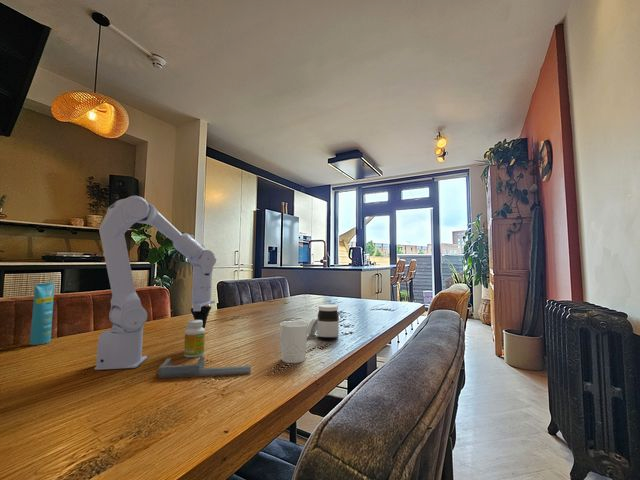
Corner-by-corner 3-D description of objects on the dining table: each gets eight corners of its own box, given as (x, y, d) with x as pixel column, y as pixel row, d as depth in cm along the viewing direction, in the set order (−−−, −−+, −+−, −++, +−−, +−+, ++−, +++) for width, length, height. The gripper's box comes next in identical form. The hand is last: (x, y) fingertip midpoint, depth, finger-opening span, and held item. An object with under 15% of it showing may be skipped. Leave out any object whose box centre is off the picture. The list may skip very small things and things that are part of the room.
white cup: (311, 357, 86) (312, 322, 86) (298, 366, 79) (299, 328, 79) (288, 353, 89) (289, 319, 90) (273, 361, 82) (274, 324, 82)
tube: (41, 346, 92) (45, 283, 93) (22, 346, 91) (27, 283, 92) (56, 339, 99) (60, 281, 100) (39, 340, 98) (44, 281, 99)
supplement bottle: (196, 358, 83) (198, 323, 83) (179, 357, 84) (181, 322, 85) (207, 352, 88) (209, 319, 89) (191, 351, 89) (193, 318, 90)
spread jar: (339, 342, 101) (339, 308, 102) (306, 342, 101) (306, 307, 102) (337, 333, 113) (337, 302, 113) (307, 333, 113) (308, 302, 114)
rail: (158, 378, 69) (158, 367, 69) (166, 368, 75) (167, 358, 76) (250, 373, 73) (250, 362, 73) (251, 363, 80) (251, 354, 80)
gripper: (211, 289, 89) (209, 335, 88) (218, 284, 103) (216, 324, 102) (186, 289, 87) (184, 336, 87) (196, 285, 102) (195, 325, 101)
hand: (200, 330), depth 94 cm, fingers closed
